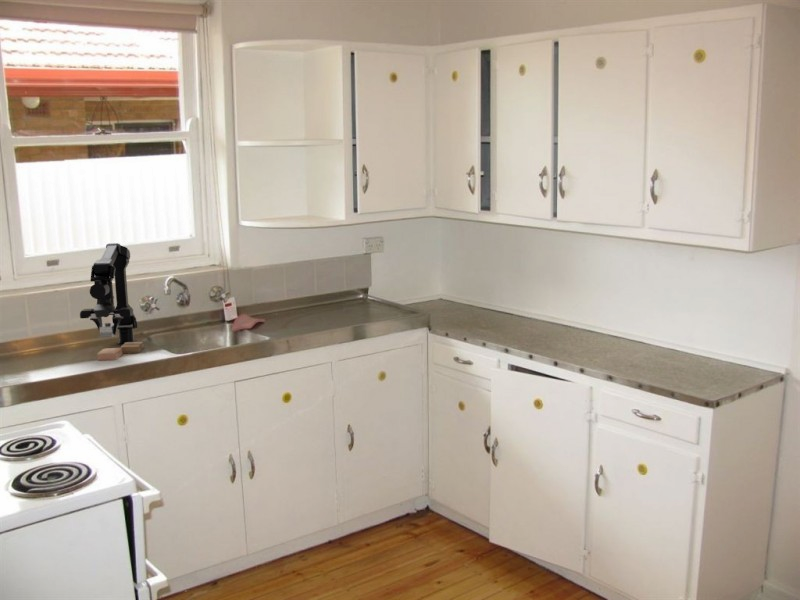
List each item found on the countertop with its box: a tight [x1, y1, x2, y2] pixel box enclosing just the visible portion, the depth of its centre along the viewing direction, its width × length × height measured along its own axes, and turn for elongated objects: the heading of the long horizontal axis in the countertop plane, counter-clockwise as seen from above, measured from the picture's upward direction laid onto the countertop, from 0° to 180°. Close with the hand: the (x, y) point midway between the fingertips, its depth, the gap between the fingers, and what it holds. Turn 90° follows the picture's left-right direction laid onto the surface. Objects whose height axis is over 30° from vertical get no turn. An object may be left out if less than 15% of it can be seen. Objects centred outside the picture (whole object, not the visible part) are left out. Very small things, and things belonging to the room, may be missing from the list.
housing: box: [98, 322, 118, 339], centre depth 323 cm, size 7×4×5 cm, turn 5°
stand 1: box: [97, 347, 123, 361], centre depth 324 cm, size 9×7×2 cm
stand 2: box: [119, 341, 145, 354], centre depth 335 cm, size 9×7×2 cm
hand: (108, 334), depth 323 cm, fingers closed on housing, 4 cm apart
